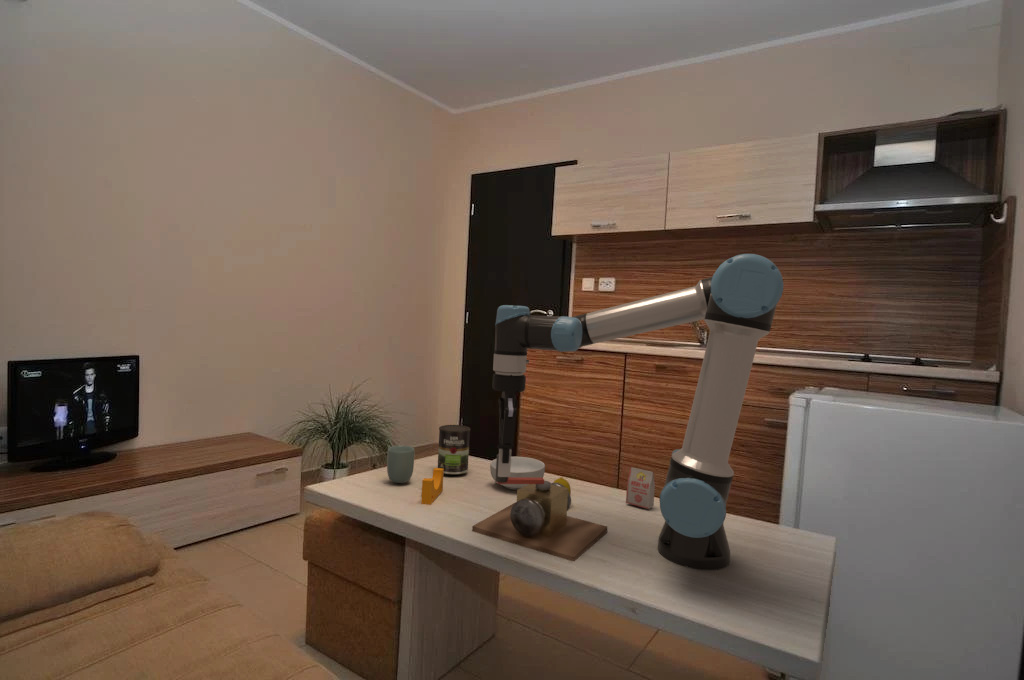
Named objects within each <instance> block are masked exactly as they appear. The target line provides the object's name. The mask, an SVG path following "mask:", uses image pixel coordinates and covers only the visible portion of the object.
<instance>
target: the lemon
mask: <svg viewBox="0 0 1024 680" xmlns="http://www.w3.org/2000/svg"><path fill="white" fill-rule="evenodd" d="M552 483H559V484H562V485H563V486H564V487H565V488H568V491H569V493H570V496H572V495H571V493H572V491H571V485H570V483H569V481H568V480H566V479H565V478H563V476H560V477H559V478H556V479H554V481H553V482H552Z"/></svg>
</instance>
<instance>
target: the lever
mask: <svg viewBox="0 0 1024 680" xmlns="http://www.w3.org/2000/svg"><path fill="white" fill-rule="evenodd" d="M496 459H497V460H496V481H495V482H496V484H498V485H500V484H536V489H538V490H550V489H551V483H552V482H551V481H548V480H545V479H544V477H543V478H527V477H498V461H499V453H498V454H496Z"/></svg>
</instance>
